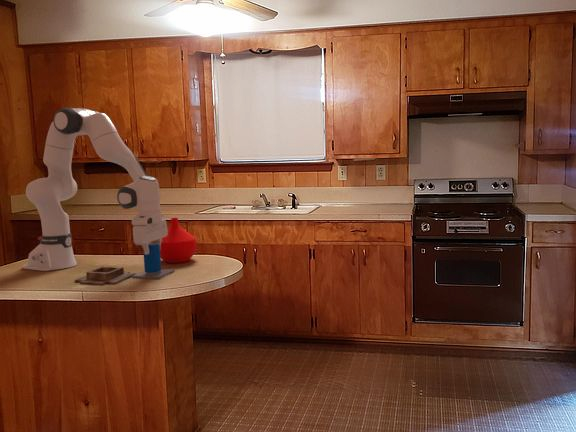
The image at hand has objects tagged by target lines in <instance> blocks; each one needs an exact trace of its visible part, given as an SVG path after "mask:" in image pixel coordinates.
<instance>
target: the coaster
mask: <svg viewBox="0 0 576 432" xmlns="http://www.w3.org/2000/svg"><path fill="white" fill-rule="evenodd" d="M173 273H175V269H164V268H163V269H162V268H161V271H160V272H159V273H157V274H147V273H146V272H145V269H144V270H142V271H140V272H138V273H136V274H135V275H133V276H132V277H131V278H132V279H145V278H148V279H149V278H150V279H151V280H161V279H162V277H163V278H165V277H167V276H169V275H171V274H173ZM168 274H169V275H168ZM166 275H167V276H166ZM164 276H165V277H164ZM160 278H161V279H160ZM150 279H149V280H150Z"/></svg>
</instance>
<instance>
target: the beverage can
mask: <svg viewBox="0 0 576 432" xmlns="http://www.w3.org/2000/svg"><path fill="white" fill-rule="evenodd" d="M148 244H149V245H148V248H149V249H150V254H145V253H144V249H142V250H143V266H144V270H145V272H146V273H147V274H157V273H159V272H160V271H161V269H162V259H161V257H160V245H159V244H158V242H155V241H152V242H150V243H148Z"/></svg>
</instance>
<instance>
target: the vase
mask: <svg viewBox="0 0 576 432" xmlns="http://www.w3.org/2000/svg"><path fill="white" fill-rule="evenodd" d="M170 221H171V222H170V224H171V225H170V226H169V228H167V230H168V234H167V236H166V237H164V238H162V242H161V245H160V248H161V249H160V257H161V261H162V260H163V261H164V262H166V263H168V264H180V263H185V262H188V261H189V260H190V259H191V258H192V257H193V256H194V255H195V252H196V250H197V247H198V244H197V243H198V241H197V238H196V237H195V235H193V234H191V233H189V232H188V231H186V230H185V229H184V228H182V226H180V224H179V217H171V218H170ZM154 242H156V241H154Z"/></svg>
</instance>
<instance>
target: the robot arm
mask: <svg viewBox="0 0 576 432" xmlns="http://www.w3.org/2000/svg"><path fill="white" fill-rule="evenodd" d="M78 136H84V137H85V136H88V137H89V139H90V142H91V145H92V146H93V149H94V151H95V153H96V154H97V156H99V158H100V159H103V160H104V161H105V162H106V161H107V162H110V163H113V164H117V165H119V166H120V167H123V168H124V169H125V170H126V171H127V172H128V175H129V176H130V177H131V179H132V181H133V182H131V183H129V184H126V185H123V186H121V187H120V188H119V189H118V191H117V194H116V199H117V203H118V204H119V206H120V207H121V208H122V209H125V210H133V209H137V214H136V216H134V217H133V218H132V220H131V225H132V226H133V227H132V238H133V244H134V245H136V246H142V247H141V248H143V249H144V253H145V254H150V249H149V248H148V245H149V244H148V243H150V242H155V241H156V242H158V244H159V245H161V242H162V238H164V237H166V236H167V234H168V225H167V221H166V219H165V216H163V214H162V207H161V205H160V204H161V190H160V185H159V181H158V179H157V178H155V177H153V176H150V175H148V174H147V173H146V171H145V169H144V168H143V166H142V164H141V163H140V161H139V159H138V157H137V156H136V155H135V154H134V152H133V151H132V150H131V149H130V148H129V147H128V146H127V145H126V144H125V142H124V141H123V140H122V138H121V137H120V135H119V133H118V130H117V128H116V126H115V125H114V123H113V121H112V120H111V119H110V117H109V116H108V115H107V114H106V113H103V112H98V111H96V110H94V109H88V108H83V107H78V108H76V107H73V108H72V107H63V108H60V109H57V111H55V113H54V115H53V121H52V122H51V124H50V126H49V129H48V132H47V135H46V139H45V144H44V151H43V157H42V161H43V163H44V165H45V166H46V167H47V170H48V176H47V177H41V178H40V177H39V178H37V179H34V180H32V181H30V182H29V183H28V184H27V186H26V188H25V195H26V198H27V199H28V200H29V202H31V203H32V204H33V205H34V206H35V208H36V210H37V212H38V215H39V218H40V222H41V229H42V230H41V232H42V235H41V236H37V240H38V241H39V244H38V245H37V246H36V247H35V248H34V249H32V250H31V251H30V252H29V253H28V257H27V258H28V261H27V262H28V263H26V264H23V266H22V269H25V270H33V271H39V272H41V271H42V272H49V271H55V270H62V269H69V268H72V267H75V266H77V265H78V263H77V260H76V258H75V257H76V256H75V255H74V250H73V245H72V244H73V238H72V237H73V236H72V232H71V227H70V219H69V218H70V216H69V214H68V213H66V212H65V211H64V209H63V208H62V205H61V202H63V201H68V200H70V199H71V198H73V197H75V196H76V194H77V192H78V184H77V182H76V180H75V179H74V178H73V173H72V161H73V160H72V159H73V154H74V148H75V141H76V139H77V137H78ZM143 249H142V250H143ZM160 249H161V248H160ZM144 253H143V254H144Z"/></svg>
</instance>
